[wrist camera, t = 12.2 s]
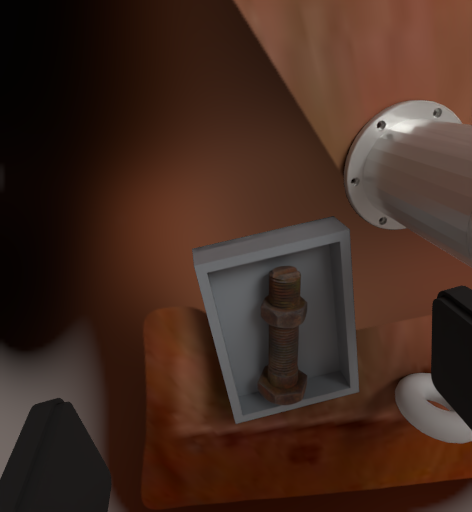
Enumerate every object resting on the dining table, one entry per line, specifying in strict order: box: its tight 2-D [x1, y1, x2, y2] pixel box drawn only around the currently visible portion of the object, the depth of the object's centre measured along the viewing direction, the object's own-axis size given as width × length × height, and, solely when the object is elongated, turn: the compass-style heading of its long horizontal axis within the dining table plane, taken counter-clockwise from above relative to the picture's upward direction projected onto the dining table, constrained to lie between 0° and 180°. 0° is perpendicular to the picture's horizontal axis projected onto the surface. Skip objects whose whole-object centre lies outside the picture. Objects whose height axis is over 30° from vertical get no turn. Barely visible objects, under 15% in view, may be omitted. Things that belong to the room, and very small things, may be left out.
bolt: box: [257, 266, 308, 405], centre depth 40 cm, size 6×5×15 cm
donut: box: [395, 373, 472, 443], centre depth 46 cm, size 10×4×10 cm, turn 86°
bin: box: [192, 216, 359, 424], centre depth 41 cm, size 15×21×4 cm
